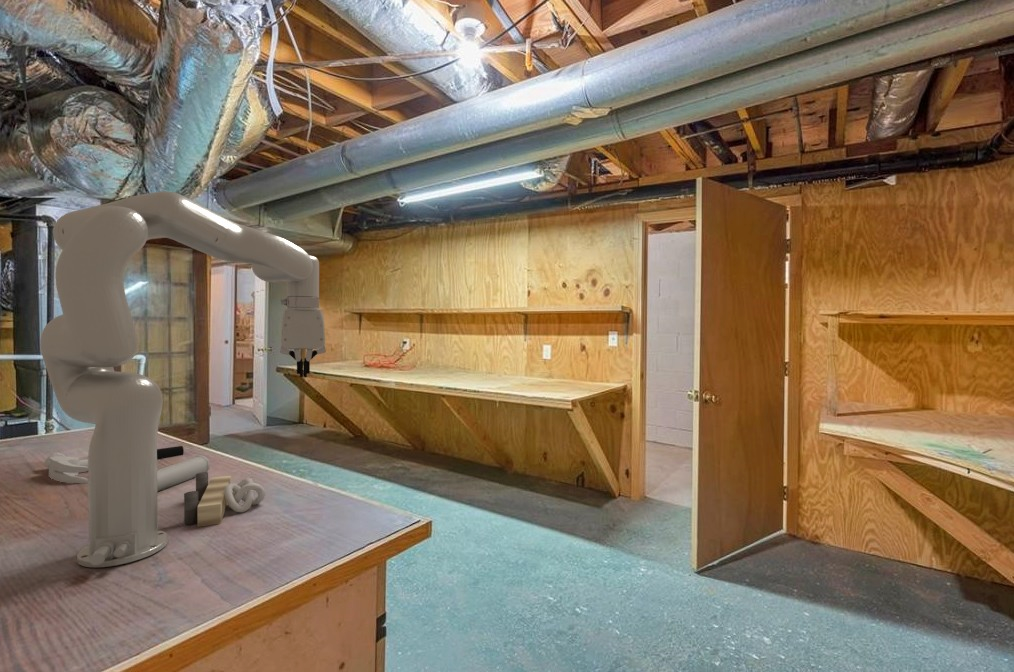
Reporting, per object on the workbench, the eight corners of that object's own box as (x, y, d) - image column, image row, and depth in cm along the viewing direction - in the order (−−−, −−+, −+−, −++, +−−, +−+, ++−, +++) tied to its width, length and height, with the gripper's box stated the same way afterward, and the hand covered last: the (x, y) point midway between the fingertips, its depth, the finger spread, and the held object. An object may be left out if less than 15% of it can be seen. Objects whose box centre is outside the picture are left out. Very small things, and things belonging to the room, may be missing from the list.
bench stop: (220, 523, 98) (220, 494, 98) (181, 529, 95) (181, 498, 95) (230, 492, 116) (230, 467, 116) (198, 496, 113) (198, 470, 113)
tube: (123, 491, 105) (212, 459, 130) (103, 482, 106) (195, 452, 131) (117, 513, 106) (207, 477, 131) (97, 504, 107) (190, 470, 131)
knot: (216, 507, 106) (216, 481, 106) (254, 498, 112) (254, 473, 112) (228, 517, 101) (228, 489, 101) (268, 506, 107) (268, 480, 107)
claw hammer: (171, 437, 155) (43, 452, 131) (199, 448, 142) (62, 468, 118) (170, 454, 155) (42, 472, 131) (198, 467, 142) (61, 490, 118)
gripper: (269, 303, 116) (270, 379, 117) (335, 304, 122) (335, 377, 123) (270, 304, 123) (270, 376, 123) (333, 305, 129) (333, 374, 130)
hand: (303, 376), depth 123 cm, fingers closed
